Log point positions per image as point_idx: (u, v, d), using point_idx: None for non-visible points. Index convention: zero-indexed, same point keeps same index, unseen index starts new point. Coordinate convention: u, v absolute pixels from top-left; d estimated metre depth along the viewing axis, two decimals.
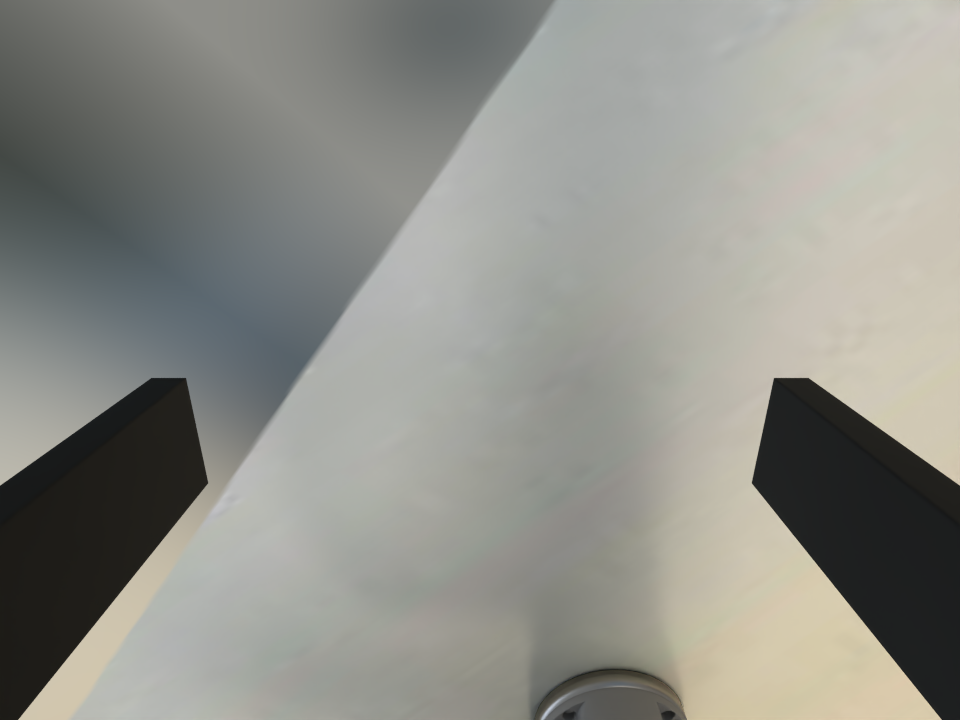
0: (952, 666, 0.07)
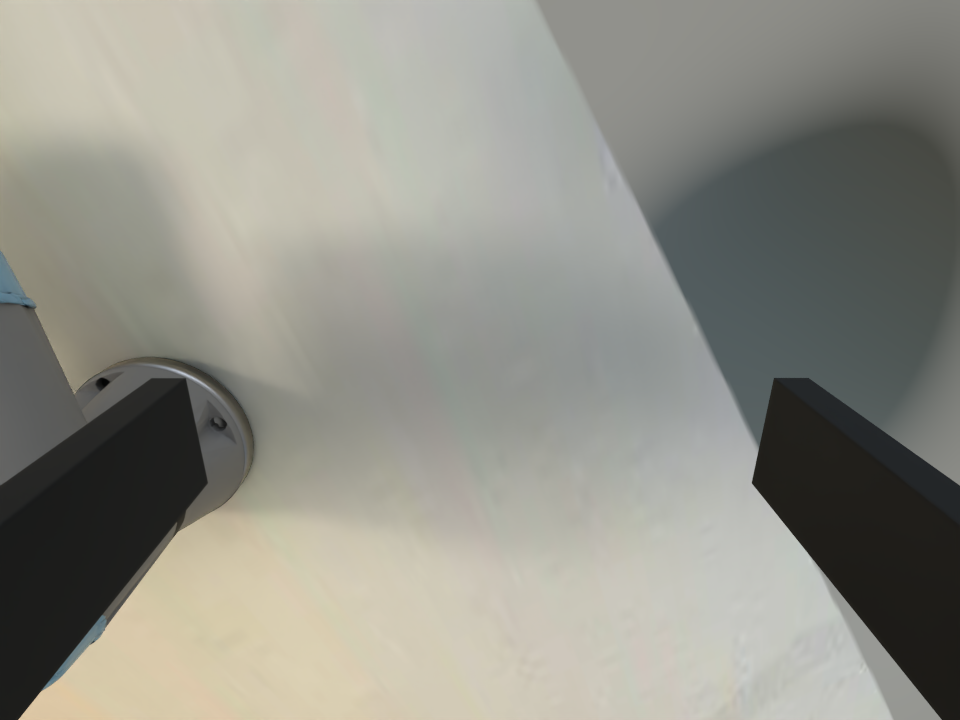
0: (951, 666, 0.07)
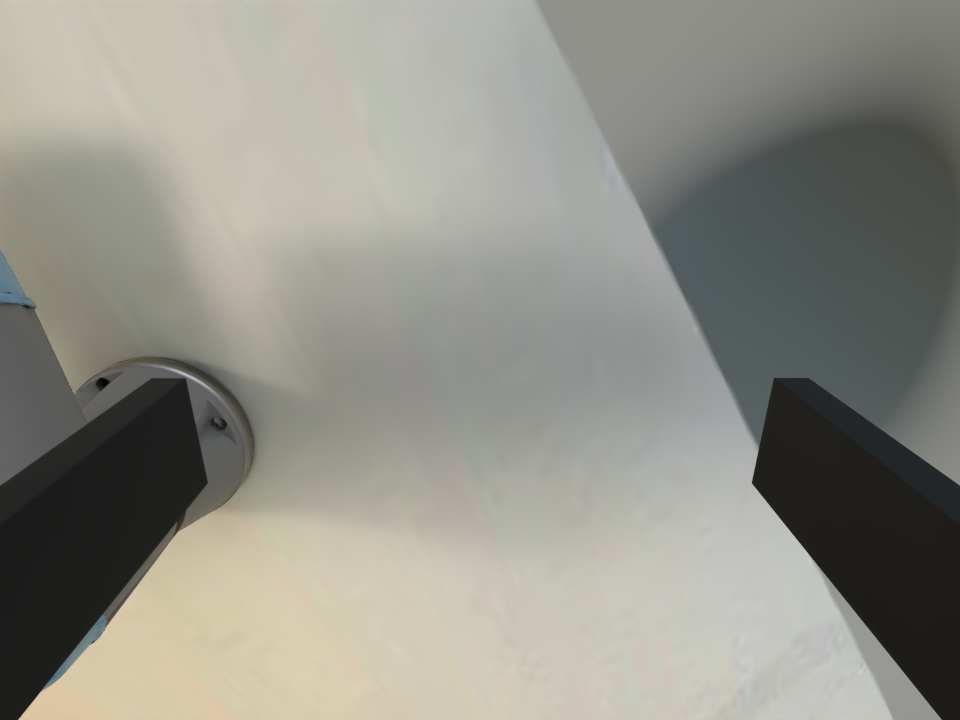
0: (951, 666, 0.07)
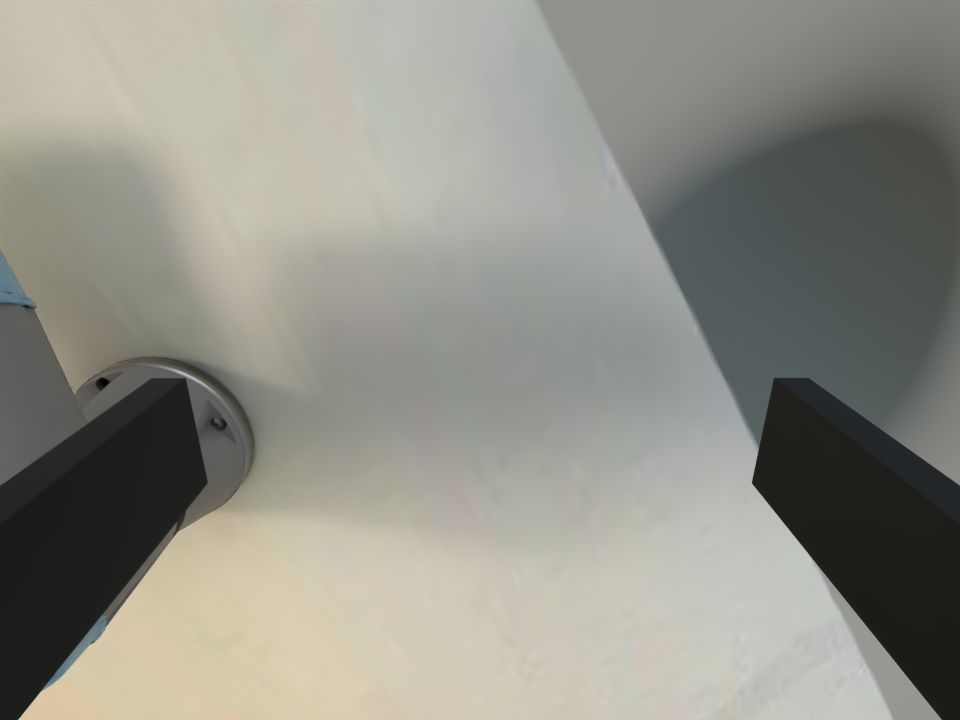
0: (951, 666, 0.07)
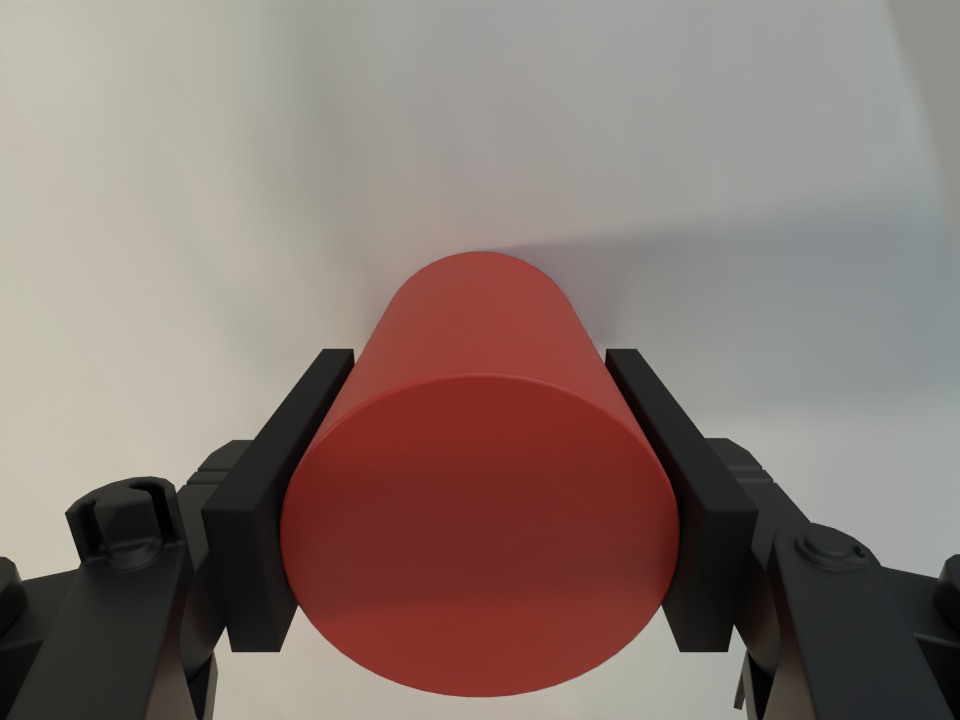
0: None
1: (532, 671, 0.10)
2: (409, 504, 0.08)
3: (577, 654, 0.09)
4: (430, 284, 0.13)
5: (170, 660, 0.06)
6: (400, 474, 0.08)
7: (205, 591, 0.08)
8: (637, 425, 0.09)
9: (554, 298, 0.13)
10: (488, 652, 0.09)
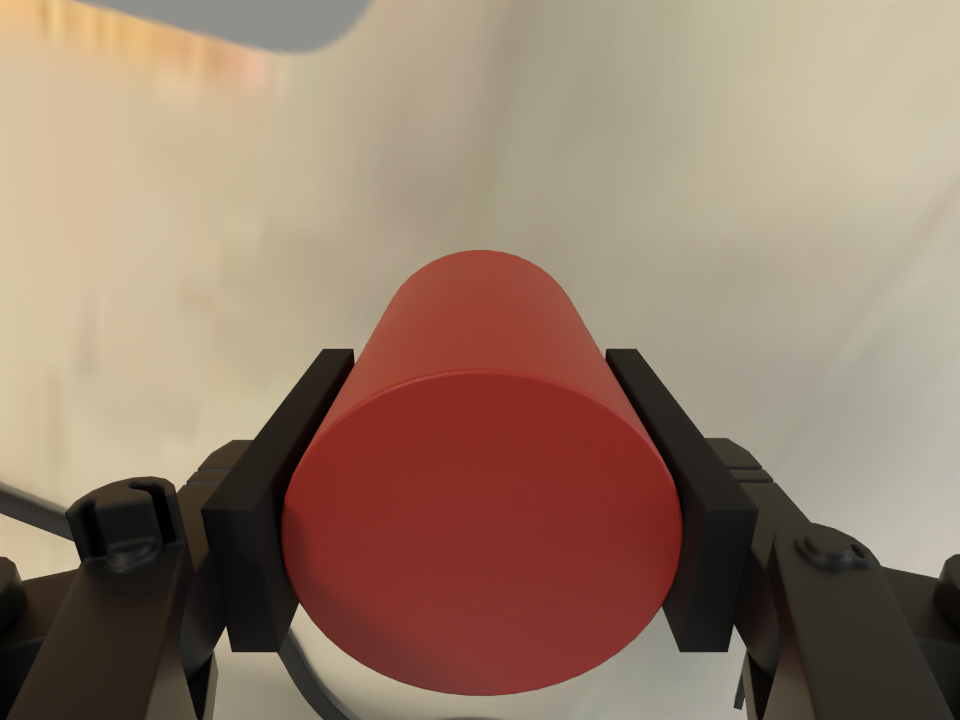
0: None
1: (534, 669, 0.10)
2: (411, 501, 0.08)
3: (579, 653, 0.09)
4: (431, 282, 0.13)
5: (170, 660, 0.06)
6: (402, 472, 0.08)
7: (205, 591, 0.08)
8: (640, 422, 0.09)
9: (556, 296, 0.13)
10: (490, 650, 0.09)
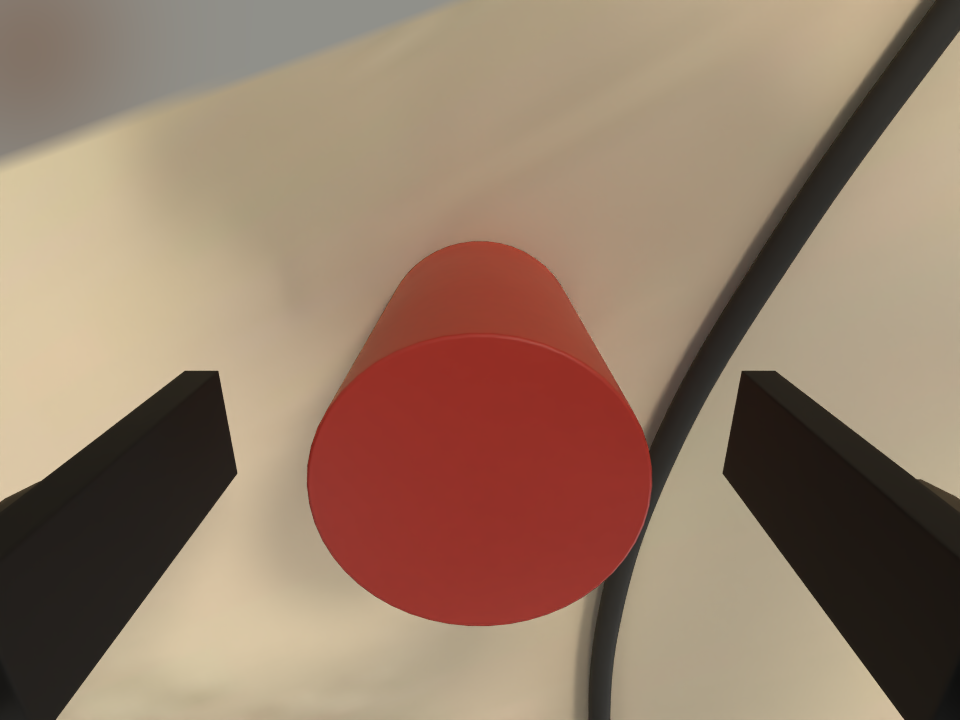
0: (893, 641, 0.08)
1: (525, 601, 0.11)
2: (419, 448, 0.10)
3: (564, 586, 0.11)
4: (434, 268, 0.15)
5: None
6: (411, 422, 0.10)
7: None
8: (615, 383, 0.10)
9: (547, 281, 0.15)
10: (487, 584, 0.11)
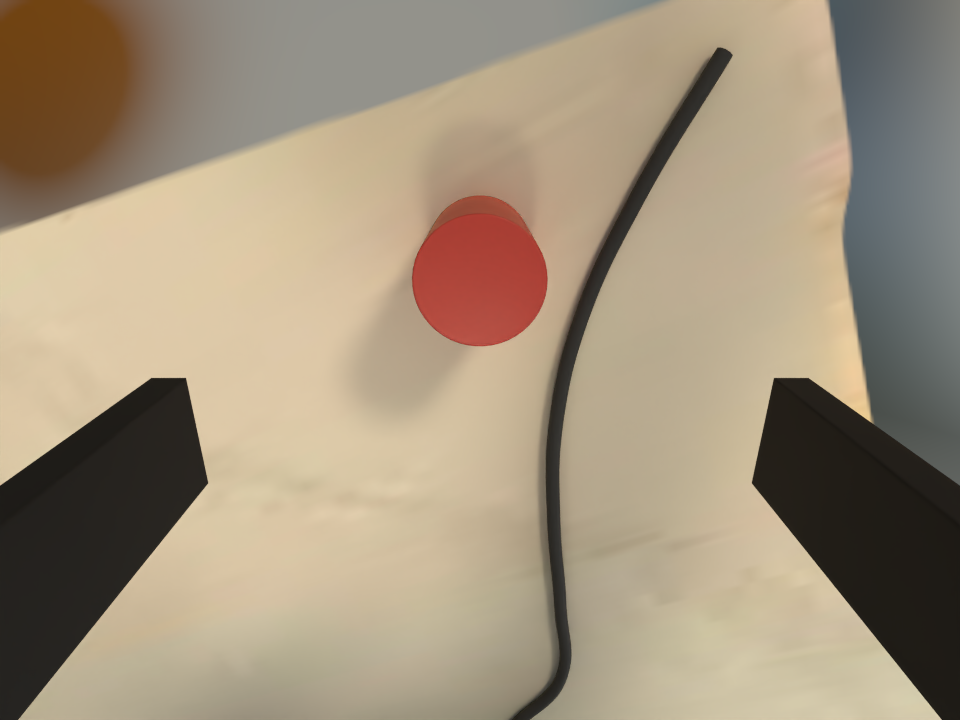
0: (952, 666, 0.07)
1: (498, 333, 0.27)
2: (456, 261, 0.25)
3: (514, 325, 0.26)
4: (458, 204, 0.30)
5: None
6: (454, 250, 0.25)
7: None
8: (533, 238, 0.26)
9: (512, 211, 0.30)
10: (483, 324, 0.26)
